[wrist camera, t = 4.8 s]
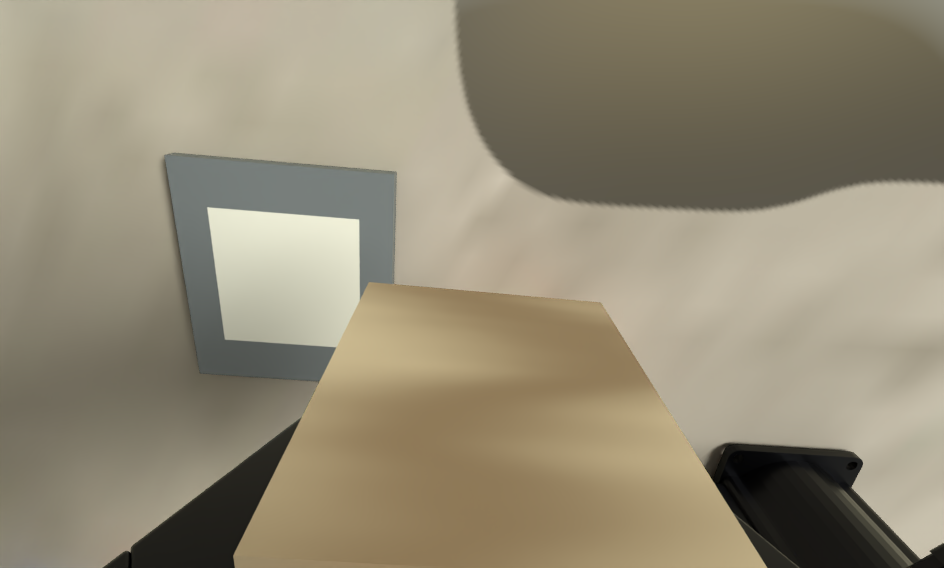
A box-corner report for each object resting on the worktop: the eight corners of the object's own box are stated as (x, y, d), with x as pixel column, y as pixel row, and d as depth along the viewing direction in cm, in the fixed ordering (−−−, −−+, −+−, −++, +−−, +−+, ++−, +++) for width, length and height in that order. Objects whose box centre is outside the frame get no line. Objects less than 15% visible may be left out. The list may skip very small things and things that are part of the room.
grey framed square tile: (396, 171, 17) (394, 174, 17) (391, 378, 21) (389, 386, 20) (174, 152, 17) (164, 155, 16) (207, 365, 20) (199, 373, 20)
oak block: (600, 302, 8) (780, 588, 3) (560, 477, 10) (647, 834, 5) (369, 281, 8) (233, 554, 3) (365, 463, 9) (270, 823, 5)
